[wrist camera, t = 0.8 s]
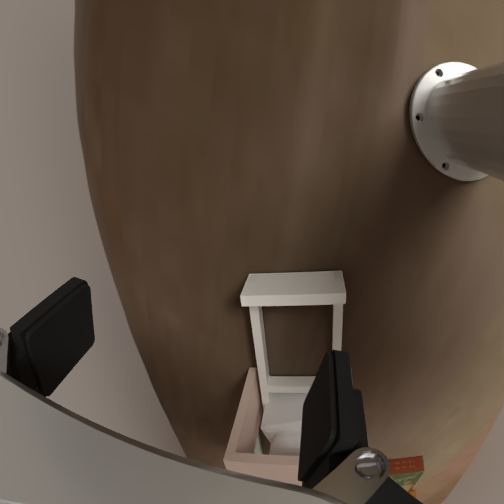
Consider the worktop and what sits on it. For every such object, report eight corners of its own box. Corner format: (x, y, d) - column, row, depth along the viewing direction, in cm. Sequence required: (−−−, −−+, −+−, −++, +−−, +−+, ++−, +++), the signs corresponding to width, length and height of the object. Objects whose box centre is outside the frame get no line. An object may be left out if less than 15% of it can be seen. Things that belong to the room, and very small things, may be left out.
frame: (353, 421, 43) (353, 425, 42) (345, 461, 47) (345, 465, 46) (249, 420, 46) (248, 425, 45) (257, 460, 51) (256, 464, 50)
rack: (342, 270, 34) (346, 292, 29) (334, 422, 43) (334, 448, 39) (249, 273, 36) (240, 295, 31) (268, 422, 45) (263, 447, 41)
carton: (364, 492, 52) (365, 507, 49) (382, 457, 47) (384, 476, 43) (399, 489, 51) (400, 504, 47) (422, 454, 45) (426, 471, 41)
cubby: (351, 366, 39) (358, 463, 25) (346, 409, 42) (348, 497, 28) (249, 367, 41) (223, 460, 28) (256, 409, 45) (236, 494, 31)
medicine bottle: (328, 411, 43) (327, 477, 32) (283, 419, 45) (274, 483, 34) (314, 380, 41) (311, 451, 30) (266, 390, 43) (252, 458, 32)
